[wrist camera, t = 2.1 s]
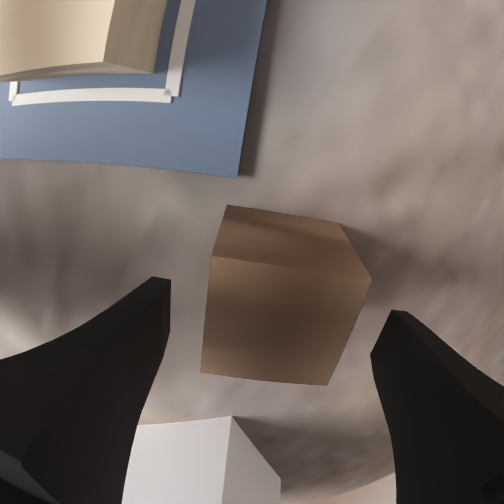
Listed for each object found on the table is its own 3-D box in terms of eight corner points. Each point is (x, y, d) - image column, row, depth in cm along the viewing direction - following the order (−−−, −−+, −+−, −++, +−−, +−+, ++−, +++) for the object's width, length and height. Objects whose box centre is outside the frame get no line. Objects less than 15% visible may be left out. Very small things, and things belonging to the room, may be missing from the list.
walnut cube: (214, 299, 14) (200, 372, 10) (227, 204, 12) (211, 255, 8) (311, 312, 15) (327, 385, 10) (338, 222, 13) (372, 279, 9)
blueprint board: (-14, 156, 11) (-23, 159, 10) (29, -69, 5) (22, -73, 5) (238, 175, 12) (236, 179, 11) (288, -102, 6) (290, -110, 5)
